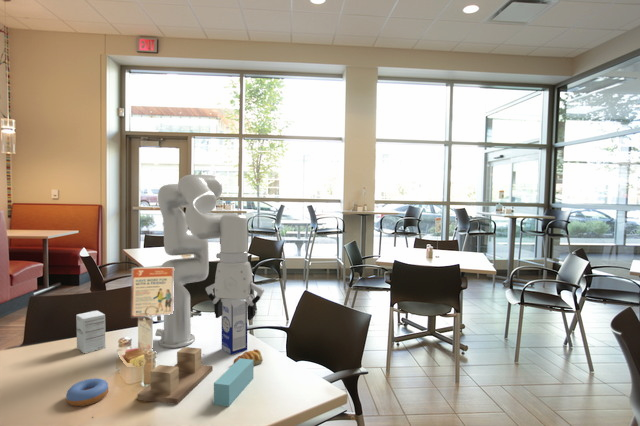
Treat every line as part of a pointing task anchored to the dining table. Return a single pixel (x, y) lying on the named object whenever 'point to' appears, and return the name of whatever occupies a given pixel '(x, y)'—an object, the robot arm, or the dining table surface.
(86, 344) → the supplement box
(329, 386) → the dining table surface
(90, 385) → the doughnut
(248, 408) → the dining table surface
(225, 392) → the pale blue rectangular prism
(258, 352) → the pastry
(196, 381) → the display stand
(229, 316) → the milk carton
